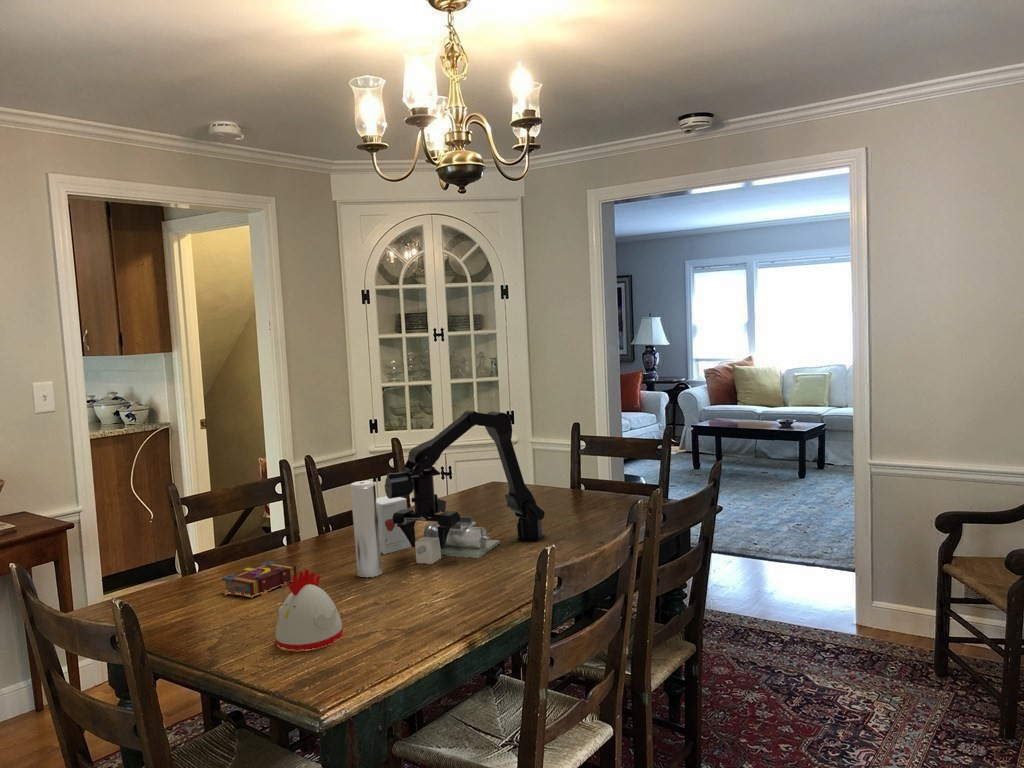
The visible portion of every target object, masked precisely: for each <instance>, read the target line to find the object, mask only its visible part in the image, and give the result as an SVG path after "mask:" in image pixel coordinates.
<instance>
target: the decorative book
mask: <svg viewBox="0 0 1024 768" xmlns="http://www.w3.org/2000/svg"><path fill="white" fill-rule="evenodd" d="M293 575H296V576H297V565H292V564H284V563H279V562H277V561H274V560H268V561H264V562H262V563H259V564H257V565H256V566H253V567H245V568H244V569H243V570H242V571H239V572H238V573H235V572H234V573H232V574H228V575H226V576H222V578H221V581H222V582H225V590H226V589H227V590H229V592H231V594H234V593H235V591H236V592H239V593H240V592H241V594H243V595H244V593H245V594H250V595H251V596H252V595H255V594H257V593H260V592H264V591H266V590H269V589H270V588H272V587H275V586H278V585H280V584H284V583H287V582H289V581H291V580H293V578H292V576H293Z"/></svg>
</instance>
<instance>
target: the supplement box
mask: <svg viewBox="0 0 1024 768" xmlns="http://www.w3.org/2000/svg"><path fill="white" fill-rule="evenodd" d="M376 503H377V515H378V527H379V539H380V551H381V554H383V555H387V554H391V553H395V552H398V551H402V550H406V549H409V548H411V544H410V542H409V540H408V539H407V537H406V535H405V534H404V533H403V531H402V530H401V528H400V527H397V524H393V520H392V517H393V514H394V513H396V512H398V511H400V510H402V509H408V503H407V498H404V497H397V498H391V499H389V498H388V497H387V495H384V496H381V497H376Z"/></svg>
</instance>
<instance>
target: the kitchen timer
mask: <svg viewBox="0 0 1024 768" xmlns="http://www.w3.org/2000/svg"><path fill="white" fill-rule="evenodd" d="M292 578H293V582H291V583H287V584H288V585H287V586H288V588H289V590H290V593H289V594H288V595H287V597H286V598H285V600H284V601H283V604H282V605H280V607H279V608H278V612H277V614H278V617H277V622H276V628H275V643H276V642H277V644H278V645H279V646H280V647H284V648H287V649H295V650H301V649H302V650H303V649H304V650H305V649H312V648H318V647H321V646H325V645H328V644H330V643H333V642H334V641H336V640H337V639H339V638H340V637H341V636H342V637H343V635H342V633H343V634H344V632H343V631H344V629H343V623H342V619H341V616H340V614H339V612H338V609H337V607H336V604H335V603H334V601H333V600H332V598H331V597H330V595H328V593H327V592H326V591H325V590H324V589H322V588H321V587H319V584H320V579H321V575H318V574H316V575H315V572H313V571H311V572H310V571H309V569H307V568H306V569H305V568H304V572H303V571H299V573H298V577H297V576H296V575H293V576H292ZM342 637H341V638H342ZM341 638H340V639H341ZM340 639H339V640H340Z"/></svg>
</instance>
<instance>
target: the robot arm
mask: <svg viewBox="0 0 1024 768" xmlns="http://www.w3.org/2000/svg"><path fill="white" fill-rule="evenodd" d="M474 426H480V427H485V430H486V431H487V434H488V435H489V437H490V438H491V439H492V440H493V442H494V444H495V447H496V450H497V452H498V454H499V455H498V457H499V459H500V462H501V464H502V468H503V472H504V474H505V478H506V482H507V485H508V493H505V494H504V498H505V500H506V503H507V508H510V510H511V511H512V512H514V515H515V517H518V519H517V523H516V524H517V525H516V527H517V528H516V529H517V538H516V539H517V541H525V542H527V541H528V542H539V541H540V540H541V539H542V538H544V537H545V533H543V525H542V523H543V522H542V521H543V519H544V517H545V511H544V510H543V509H541V507H539V506H538V504H537V501H536V499H535V497H534V495H533V494H532V491H531V490H530V489H529V488H528V486H527V485H526V484H525V480H524V478H523V474H522V471H521V468H520V464H519V461H518V457H517V455H516V451H515V448H514V444H513V442H512V437H513V436H512V435H513V425H512V419H511V417H510V415H509V414H507V413H505V412H500V411H495V410H493V411H489V412H487V413H481V412H478V411H475V410H466V411H464V412H463V413H462V415H460V416H459V417H458V418H457V419H455V420H454V421H453V422H452V423H450V424H448V426H447V427H445V428H443V430H441V432H439V433H438V434H436V435H435V436H434V437H433V438H431V439H429V440H426V441H423V442H422V443H420V444H418V445H416V446H415V447H413V448H411V450H409V452H408V457H407V460H406V462H405V464H404V465H403V467H402V468H401V471H399V472H389V473H386V478H385V483H384V490H385V491H384V492H385V496H387V497H388V498H389V499H391V498H397V497H402V498H404V497H408V496H410V495H411V494H412V493H413V497H412V498H411V499H410V500H411V503H414V509H409V508H407V509H402V510H400V511H398V512H396V513H394V514H393V517H392V520H393V524H397V527H400V528H401V530H402V531H403V533H404V534H405V535H406V537H407V539H408V540H409V542H410V547H411V548H415V542H416V541H417V540H416V531H415V525H416V522H417V521H419V522H421V521H424V522H437V524H438V525H440V526H438V527H437V530H438V536H439V542H440V547H441V549H444V547H445V543H446V539H447V536H448V533H449V530H450V528H451V527H452V526H454V525H455V524H456V523H458V522H459V521H460V514H459V512H458V511H449V510H446V507H447V500H443V499H438V498H439V497H438V494H436V493H435V481H434V477H435V476H440V475H441V472H440V471H439V470H437V469H436V467H434V465H435V464H436V462H438V460H439V459H440V457H441V455H442V453H443V452H444V451H445V450H446V449H447V448H449V447H450V446H451V445H452V444H453V443H454V442H456V441H457V440H459V438H460V437H462V436H463V435H464V434H465V433H467V432H468V431H469V430H471V429H472V428H474Z"/></svg>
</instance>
